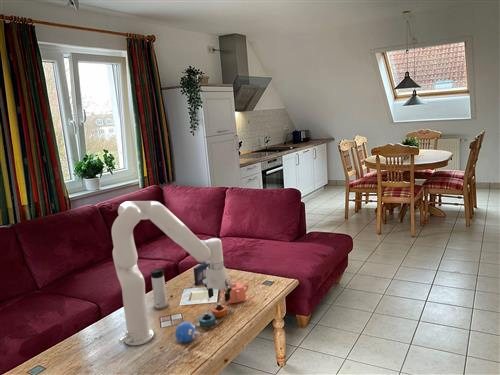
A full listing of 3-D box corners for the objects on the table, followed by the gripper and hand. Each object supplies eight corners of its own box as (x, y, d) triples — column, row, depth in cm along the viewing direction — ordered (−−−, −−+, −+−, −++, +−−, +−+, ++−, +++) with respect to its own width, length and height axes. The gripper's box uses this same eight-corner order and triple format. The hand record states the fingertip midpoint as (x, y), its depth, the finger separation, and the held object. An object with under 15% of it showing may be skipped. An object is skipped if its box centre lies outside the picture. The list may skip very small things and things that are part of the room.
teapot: (231, 294, 223) (229, 277, 222) (251, 298, 217) (249, 280, 216) (219, 304, 213) (217, 286, 212) (239, 308, 208) (238, 289, 206)
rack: (209, 330, 188) (208, 319, 187) (195, 326, 192) (194, 315, 191) (231, 312, 203) (230, 302, 202) (218, 309, 207) (217, 299, 206)
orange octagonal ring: (221, 317, 197) (221, 313, 197) (209, 314, 201) (208, 310, 200) (230, 311, 203) (229, 306, 203) (218, 308, 207) (217, 303, 206)
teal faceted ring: (208, 327, 189) (208, 322, 188) (196, 324, 192) (195, 319, 192) (218, 320, 195) (217, 315, 194) (205, 317, 198) (205, 312, 198)
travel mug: (159, 311, 210) (154, 273, 207) (152, 307, 215) (148, 270, 212) (170, 306, 215) (165, 269, 211) (163, 302, 219) (159, 266, 216)
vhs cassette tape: (198, 285, 238) (196, 268, 237) (194, 284, 240) (192, 267, 238) (217, 273, 253) (216, 258, 252) (213, 273, 255) (212, 257, 253)
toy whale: (196, 351, 173) (194, 332, 171) (170, 347, 177) (168, 329, 175) (208, 336, 184) (207, 318, 182) (184, 332, 188) (182, 315, 186)
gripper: (196, 265, 199) (200, 299, 202) (226, 270, 190) (230, 305, 193) (205, 259, 205) (209, 292, 208) (235, 264, 196) (238, 298, 199)
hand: (219, 298), depth 201 cm, fingers open, 9 cm apart
